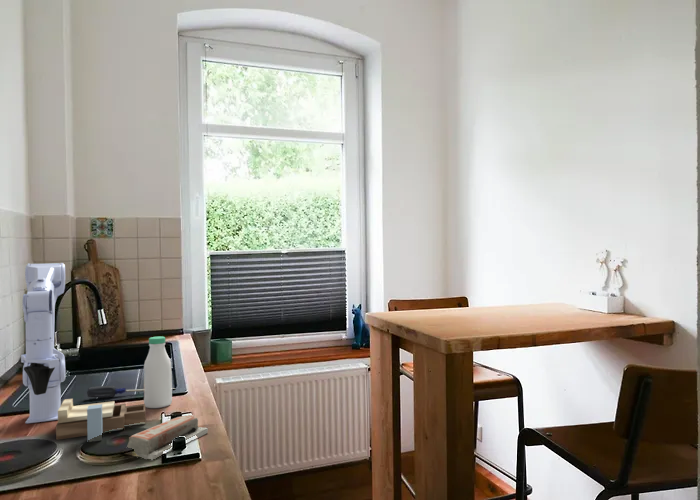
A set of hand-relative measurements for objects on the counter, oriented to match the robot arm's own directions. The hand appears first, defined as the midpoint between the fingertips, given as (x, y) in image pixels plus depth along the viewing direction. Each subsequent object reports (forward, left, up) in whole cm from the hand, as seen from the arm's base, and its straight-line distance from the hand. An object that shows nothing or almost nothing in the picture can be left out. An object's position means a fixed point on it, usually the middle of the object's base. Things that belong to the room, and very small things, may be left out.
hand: (40, 393), depth 124 cm
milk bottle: (-14, +28, -11) cm, 33 cm away
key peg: (+9, +13, -10) cm, 19 cm away
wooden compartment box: (-1, +14, -10) cm, 17 cm away
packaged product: (+18, +29, -11) cm, 36 cm away
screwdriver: (-29, +20, -11) cm, 37 cm away
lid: (-1, +10, -7) cm, 12 cm away
